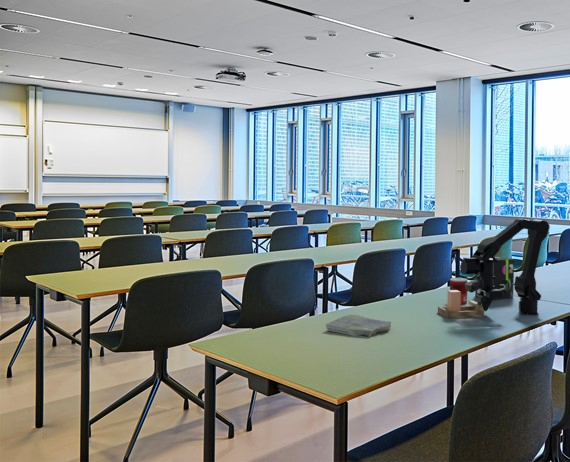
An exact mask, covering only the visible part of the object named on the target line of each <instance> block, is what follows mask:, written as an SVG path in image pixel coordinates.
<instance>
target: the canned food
mask: <svg viewBox="0 0 570 462" xmlns="http://www.w3.org/2000/svg"><path fill="white" fill-rule="evenodd" d="M467 282H468V279H467V278H463V277H451V278H450V280H449V290H458V291H460V292H461V305H467V303H468V291H467V290H466V287H465V283H467Z"/></svg>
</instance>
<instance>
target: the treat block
mask: <svg viewBox="0 0 570 462" xmlns="http://www.w3.org/2000/svg"><path fill="white" fill-rule="evenodd" d="M446 295H447V296H446V297H447V299H446V300H447V301H446V305H447V310H448V311H460V309H461V306H462V304H461V292H460V291H458V290H450V289H449V290H447V293H446Z"/></svg>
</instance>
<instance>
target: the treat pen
mask: <svg viewBox="0 0 570 462" xmlns="http://www.w3.org/2000/svg"><path fill="white" fill-rule="evenodd" d="M437 314H439V315H441V316H443V317H444V318H447V319H459V318H485V311H484V310H475V311H474V306H473V305H472V306H468V305H461V309H460V311H448V310H447V306H446V305H445V306H437Z"/></svg>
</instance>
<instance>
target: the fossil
mask: <svg viewBox="0 0 570 462" xmlns="http://www.w3.org/2000/svg"><path fill="white" fill-rule="evenodd" d="M325 327H326V330H327V331H329V332H333V333H338V334H339V333H340V334H344V335H347V336H348V335H349V336H352V337H357V338H358V337H359V338H366V339H368V338H369V337H371V336H374V335H375V334H377V333H379V332H380V333H381V332H387V331H390V329H391V327H392V321H385V320H380V319H374V318H369V317H364V316H360V315H358V314H348V315H344V316H342V317H340V318H337V319H335V320H333V321H330V322H328V323H326V325H325Z"/></svg>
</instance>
